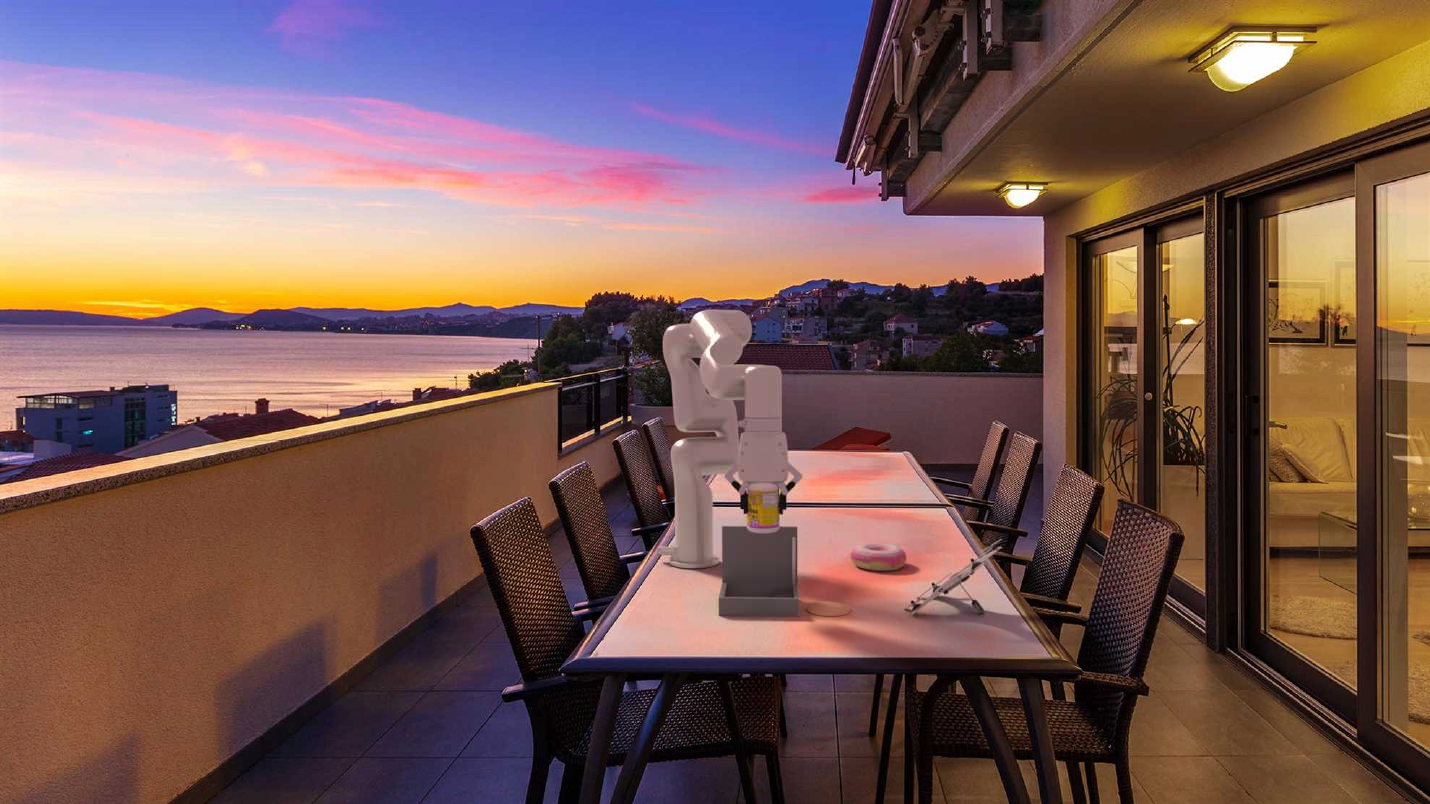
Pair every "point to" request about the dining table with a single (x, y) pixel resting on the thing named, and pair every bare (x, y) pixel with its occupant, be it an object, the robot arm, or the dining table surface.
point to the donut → (878, 556)
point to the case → (759, 572)
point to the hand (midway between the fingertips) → (763, 512)
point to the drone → (957, 581)
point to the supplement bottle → (763, 507)
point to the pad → (828, 608)
